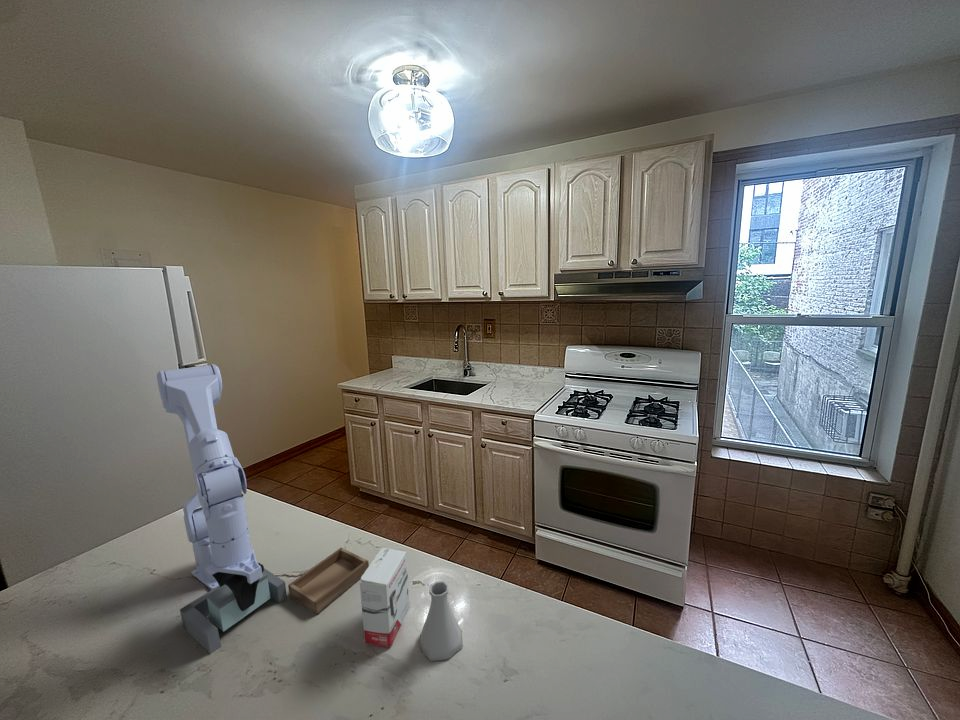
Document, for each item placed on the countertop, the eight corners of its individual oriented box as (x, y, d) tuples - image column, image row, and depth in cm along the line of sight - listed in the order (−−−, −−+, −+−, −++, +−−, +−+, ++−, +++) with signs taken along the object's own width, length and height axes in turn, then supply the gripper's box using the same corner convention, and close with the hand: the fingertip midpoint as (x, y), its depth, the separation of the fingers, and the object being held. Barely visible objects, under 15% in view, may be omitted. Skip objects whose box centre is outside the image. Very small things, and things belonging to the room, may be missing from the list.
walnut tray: (289, 596, 71) (288, 585, 70) (342, 557, 81) (341, 547, 81) (317, 615, 66) (316, 603, 66) (369, 571, 77) (368, 560, 76)
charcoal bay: (183, 626, 65) (179, 609, 64) (258, 577, 76) (256, 562, 75) (210, 653, 60) (207, 635, 59) (287, 597, 71) (284, 581, 70)
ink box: (391, 649, 60) (385, 585, 58) (363, 644, 61) (357, 581, 58) (411, 605, 68) (407, 548, 66) (387, 602, 69) (382, 545, 67)
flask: (414, 631, 63) (411, 579, 61) (454, 616, 65) (452, 566, 64) (426, 670, 56) (422, 613, 54) (469, 651, 59) (467, 596, 57)
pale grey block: (210, 620, 64) (206, 595, 63) (257, 589, 71) (254, 566, 70) (223, 631, 62) (218, 606, 61) (270, 598, 69) (267, 574, 68)
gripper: (183, 533, 64) (196, 600, 67) (224, 561, 57) (237, 636, 59) (227, 512, 70) (237, 575, 72) (270, 536, 63) (279, 605, 65)
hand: (240, 601), depth 66 cm, fingers closed on pale grey block, 4 cm apart
